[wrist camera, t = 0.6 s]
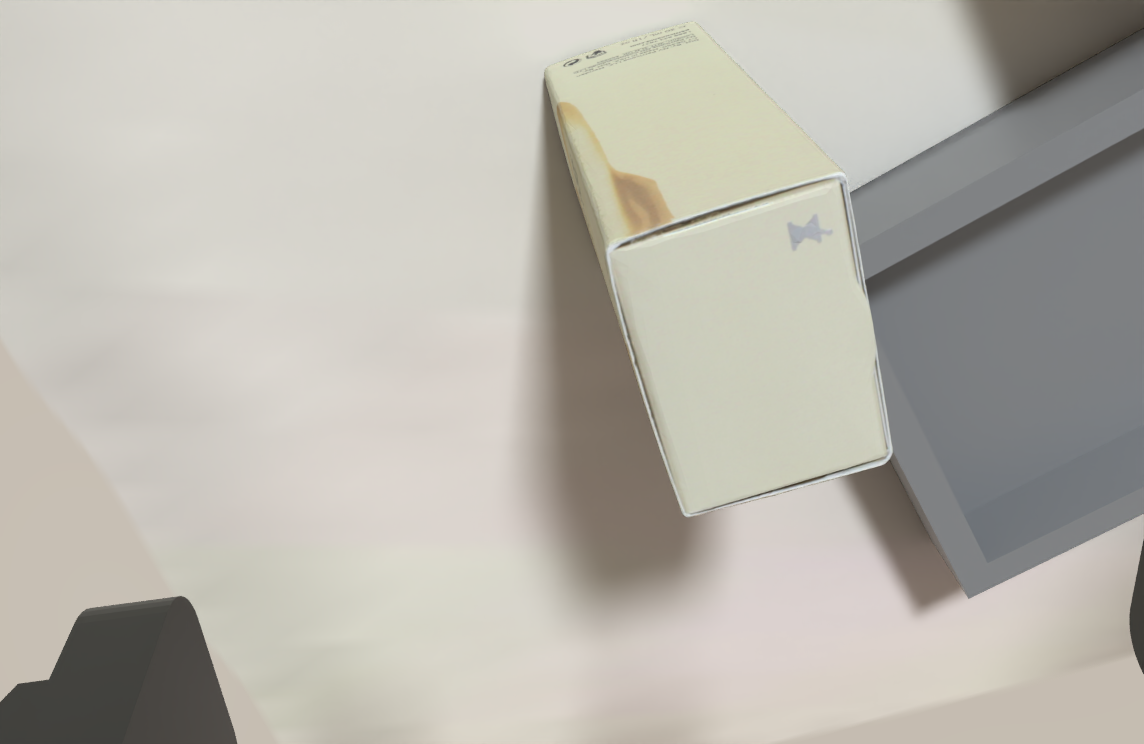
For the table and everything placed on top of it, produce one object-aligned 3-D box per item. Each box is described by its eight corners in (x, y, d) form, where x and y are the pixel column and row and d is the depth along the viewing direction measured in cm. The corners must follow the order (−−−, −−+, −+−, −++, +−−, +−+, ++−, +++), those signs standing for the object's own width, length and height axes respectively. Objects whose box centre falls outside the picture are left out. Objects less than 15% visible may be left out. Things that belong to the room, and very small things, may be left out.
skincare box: (537, 64, 29) (589, 228, 18) (698, 14, 28) (849, 150, 18) (602, 281, 32) (680, 532, 21) (747, 236, 31) (901, 468, 21)
